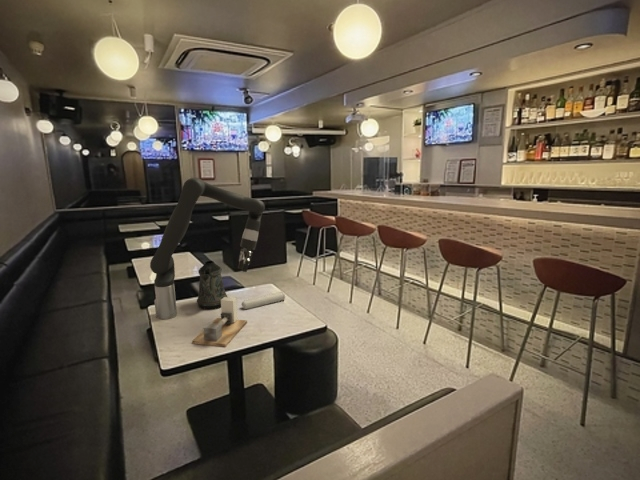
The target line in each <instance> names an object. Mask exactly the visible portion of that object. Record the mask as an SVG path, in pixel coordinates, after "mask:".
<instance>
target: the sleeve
mask: <svg viewBox="0 0 640 480" xmlns="http://www.w3.org/2000/svg"><path fill="white" fill-rule="evenodd" d="M237 299H238V298H237V297H231V296H230V297H229V296H227V297H224V298H223V299H221V308H220V311H221V313H232V322H235V321H236V320H239V319H238V303H237V302H238V300H237ZM221 313H220V314H221ZM224 317H225V316H224ZM228 321H229V320H228Z"/></svg>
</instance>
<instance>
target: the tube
mask: <svg viewBox="0 0 640 480" xmlns="http://www.w3.org/2000/svg"><path fill="white" fill-rule="evenodd" d="M285 299H286V296H285V293H284V291H282V290H281V291H278V292H275V293H271V294H266V295H262V296H257V297H254V298H253V297H252V298H248V299H244V300H243V301H242V302H241V307H242V309H244V310H250V309H253V308H257V307H261V306H266V305H270V303H271V304H274V302H275V303H278V301H279V302H283V300H284V301H285Z"/></svg>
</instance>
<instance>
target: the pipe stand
mask: <svg viewBox="0 0 640 480" xmlns="http://www.w3.org/2000/svg"><path fill="white" fill-rule="evenodd" d="M228 320H229V316H225V317H224V318H223V319H222V320H221V317H217V318H215V319H214V320H213V321H212V322H208V323H207V324H206V325H204V326H203V327H202V328H203V330H202V331H201V332H200V333H199V334H198V335H197V336H196V337H194V338H193V339H192V341H191V343H192V344H196V345H197V344H199V345H206V346H215V347H216V346H218V347H224V348H225V347H227V346H228V345H229V344H230V343H231V342H232V341H233V339H234V338H235V337H236V336H237V335H238V334H239V333H240V332H241V330H243V328H244V327H245V326H246V325H247V324H248V320H243V319H237V320H236V321H235V322H232V324H225V323H226V322H227V321H228Z"/></svg>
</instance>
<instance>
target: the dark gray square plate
mask: <svg viewBox="0 0 640 480" xmlns="http://www.w3.org/2000/svg"><path fill="white" fill-rule="evenodd" d="M224 316H229V321H227V322H226V323H225V324H232V313H220V318H221V320H222V319H223V318H224Z"/></svg>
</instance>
